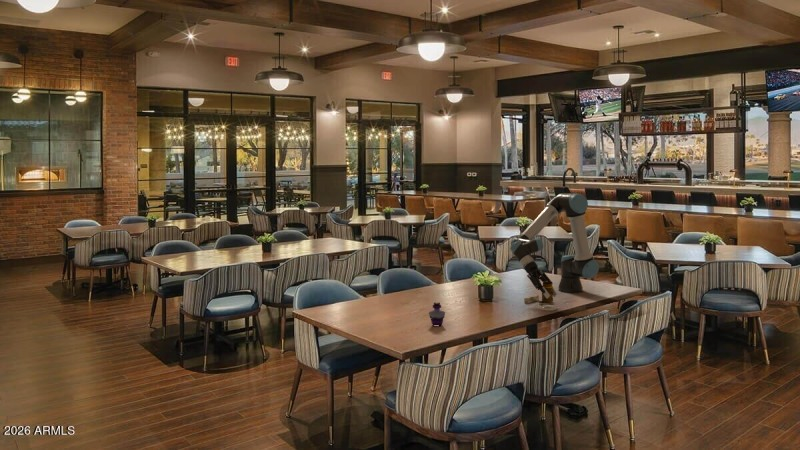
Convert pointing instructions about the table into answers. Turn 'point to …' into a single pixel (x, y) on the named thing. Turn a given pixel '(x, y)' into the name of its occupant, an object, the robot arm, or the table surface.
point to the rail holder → (533, 299)
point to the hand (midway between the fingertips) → (552, 296)
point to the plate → (547, 307)
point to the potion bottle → (437, 314)
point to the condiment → (549, 288)
